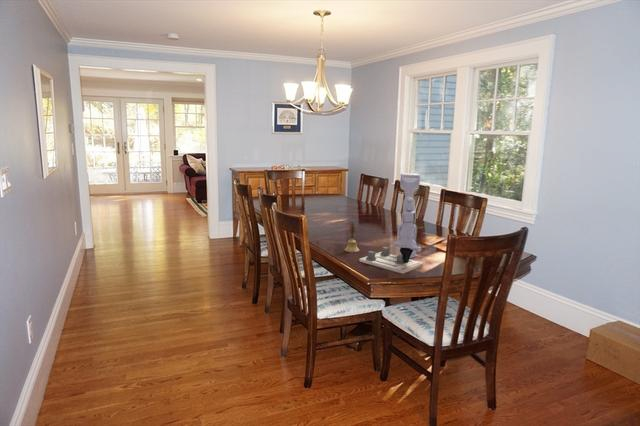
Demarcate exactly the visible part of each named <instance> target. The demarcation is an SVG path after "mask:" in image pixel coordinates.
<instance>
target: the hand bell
mask: <svg viewBox="0 0 640 426" xmlns="http://www.w3.org/2000/svg"><path fill="white" fill-rule="evenodd" d="M355 228H356V227H355V222H354V221H352V222H350V225H349V232H350V239H349V240H348V241H347V245H346V247H345V248H344V251H345V252H347V253H358V252H360V249H359V248H358V246H357V241H356V240H355V239H354V236H355V235H354V233H355V231H356V230H355Z"/></svg>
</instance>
